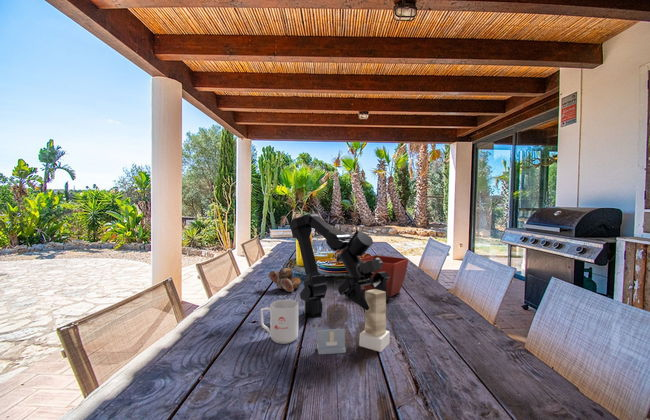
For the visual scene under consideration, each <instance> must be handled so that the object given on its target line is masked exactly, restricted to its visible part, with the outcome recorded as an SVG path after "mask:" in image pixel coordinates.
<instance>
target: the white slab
mask: <svg viewBox="0 0 650 420" xmlns="http://www.w3.org/2000/svg"><path fill="white" fill-rule="evenodd" d="M390 334H391V333H390V330H387V329H386V333H383V334H381V335H378V336H374V335H372V334H369V333H367V332H365V329H364V330H363V331H361V332H360V333H359V347H362V348H365V349H369V350H373V351H375V352H378V353H379V352H380V353H382V352H383V351H384V350H385V348H387V347H388V345H390V341H391V340H390V339H391V336H390Z"/></svg>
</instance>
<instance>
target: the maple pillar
mask: <svg viewBox="0 0 650 420" xmlns="http://www.w3.org/2000/svg"><path fill="white" fill-rule="evenodd" d="M364 298H365V300H366V302H367V304H368V306H369V310H365V309H364V330H365V332H367V333H369V334H372V335H374V336H378V335H381V334H383V333H386V330H387V314H386V313H387V304H386V292H385V291H381V290H377V289H372V290H368V291H365V290H364Z"/></svg>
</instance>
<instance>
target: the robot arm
mask: <svg viewBox="0 0 650 420" xmlns="http://www.w3.org/2000/svg"><path fill="white" fill-rule="evenodd" d="M289 228H290V231H291V233H292V236H294V238H295V239H296V240H297V242H298V247H299V250H300V255H301V258H302V263H303V268H304V272H305V277H304V281H303V289H302V290H301V292H299V296H300V297H299V298H300V300H302V301H304V303H303V304H304V307H303V315H304V317H305V318H315V317H317V318H318V317H322V314H323V302H322V299H325V297H326V294H327V291H328V283H327V280H326V276H325V274H321V273H320V272H319V269H318V266H317V261H316V258H315V257H316V256H315V253H314V249H313V245H312V240H311V234H312V228H313V230H315V231H316V232H317V233H318V234H320V235H321V236H322V237H323V238H324V239H325V241H326V245H327V246H328V247H329V248H330V250H331V251H333V252H339V251H340V253H337V255H336V256H337V257H336V258H335V259H336V260H335V262H337V263H338V262H342V264H343V266H344V268H345V269H346V272H345V275H346V277H347V276H349V277H347V278H345V279H343V280H342V282H341V283H340V284H339V286H338V288H337V291H338V293H339V295H340V296H341V297H343V296H344V297H345V298H348V299H349V300H351V301H352V302H354V303H355V304H357V305H359V307H361V308H363V310H364V311H365V310H369V306H368V304H367V302H366V300H365V295H364V294H363V292H362V287H364V286H365V285H369V284H370V285H371V286H372V287H373V288H374V289H377V290H381V291H385V292H386V305H389V304H390V297H388V294H387V290H386V283H387V281H388V279H389V278H390V276H389V275H388V273H387V272H384V271H383V272H378V273H376V274H375V275H374V276H373V277H372V278H371V276H372V275H373V274H374V271H377V270H381V267H382V266H383V262H382V261H381V260H380V258H375V259H372V261H368V262H365V261H363V262H362V261H361V259H362V258H360V257H362V256H364V255H365V254H366V252H367V251H368V250H369V249H370V248H371V247H372V246H373V244H374V241H373V238H372V237H371V236H370V235H369V234H367V233H366V232H364V231H363V230H362V229H356V230H355V232H354V234H353V235H352V236H350V234H349V233H346V232H345V231H342V230H338V229H336V228H334V227H333V226H332V225H330V224H329V223H328V222H327V221H325V219H323V218H322V217H320V215H319V214H317V213H306V214H304V215H302V216H299V217H296V218H293V219H292V220H291V221H290V222H289Z"/></svg>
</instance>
